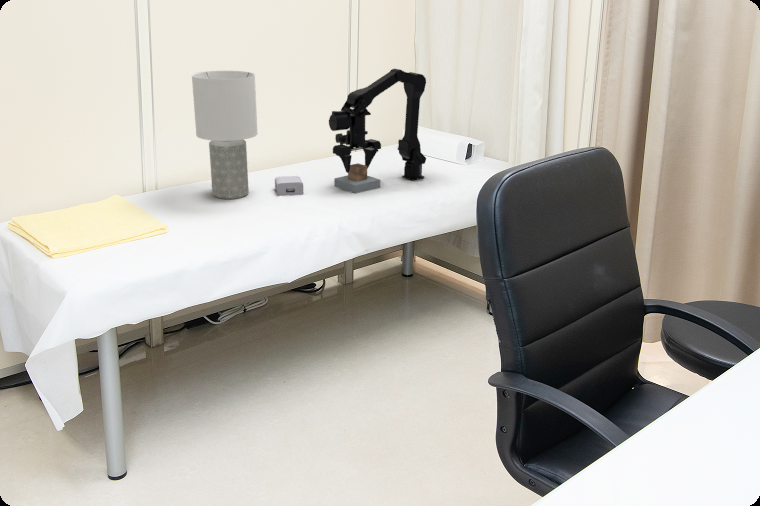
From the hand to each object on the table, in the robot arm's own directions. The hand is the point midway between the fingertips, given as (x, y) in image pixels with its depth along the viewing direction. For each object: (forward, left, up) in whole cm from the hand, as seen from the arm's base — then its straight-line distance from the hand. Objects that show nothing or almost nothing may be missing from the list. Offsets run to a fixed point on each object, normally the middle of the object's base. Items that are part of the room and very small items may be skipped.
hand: (357, 170), depth 271 cm
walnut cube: (0, 0, -3) cm, 3 cm away
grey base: (0, 0, -6) cm, 6 cm away
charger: (+21, -14, -7) cm, 26 cm away
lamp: (+41, -21, -6) cm, 46 cm away
